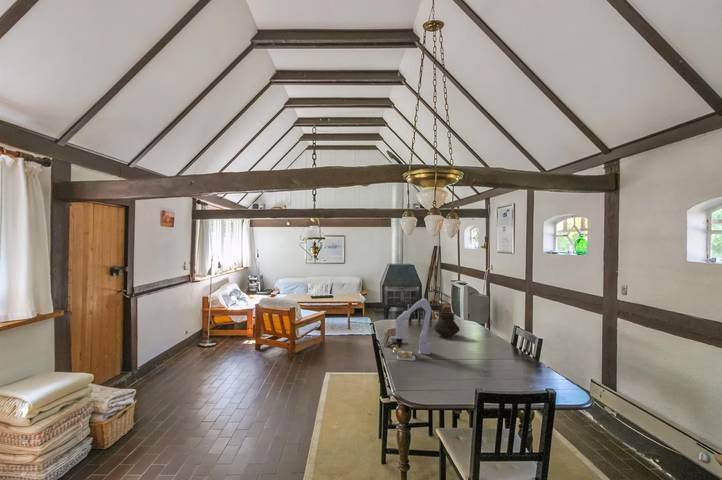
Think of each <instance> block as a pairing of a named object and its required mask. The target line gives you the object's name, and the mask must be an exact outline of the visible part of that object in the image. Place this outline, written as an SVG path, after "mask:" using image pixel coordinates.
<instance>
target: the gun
mask: <svg viewBox="0 0 722 480" xmlns="http://www.w3.org/2000/svg"><path fill="white" fill-rule="evenodd" d="M383 334H384V336H383V341H382V343H383V347H386V348H387V347H388V346H390V344H393V343H394V344H396V343H397V341H396V339H391V336H396V326H395V327H388V328H385V330H384V331H383ZM389 339H390V340H391V341H389ZM399 340H400V339H399Z"/></svg>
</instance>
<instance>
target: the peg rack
mask: <svg viewBox="0 0 722 480" xmlns="http://www.w3.org/2000/svg"><path fill="white" fill-rule="evenodd" d="M396 355H397V356H396V360H397V361H413V362H414V361H416V355H412V358H411V355H410V358H406V355H404V358H403V357H401V358H398V354H396Z"/></svg>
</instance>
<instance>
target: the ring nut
mask: <svg viewBox="0 0 722 480" xmlns="http://www.w3.org/2000/svg"><path fill="white" fill-rule="evenodd" d="M392 349H393V352H398V351H400V350H401V347H400V348H399V347H398V344H396V345H395V346H393V347H392Z"/></svg>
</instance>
